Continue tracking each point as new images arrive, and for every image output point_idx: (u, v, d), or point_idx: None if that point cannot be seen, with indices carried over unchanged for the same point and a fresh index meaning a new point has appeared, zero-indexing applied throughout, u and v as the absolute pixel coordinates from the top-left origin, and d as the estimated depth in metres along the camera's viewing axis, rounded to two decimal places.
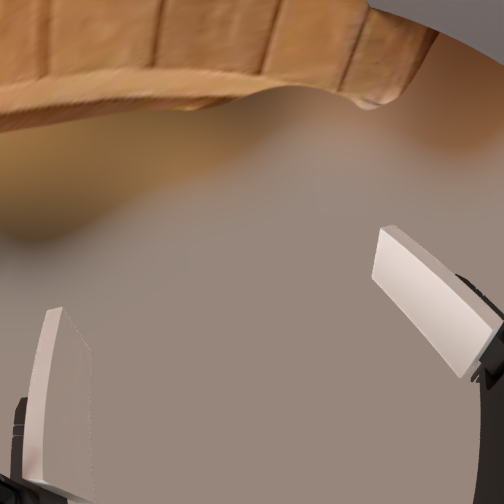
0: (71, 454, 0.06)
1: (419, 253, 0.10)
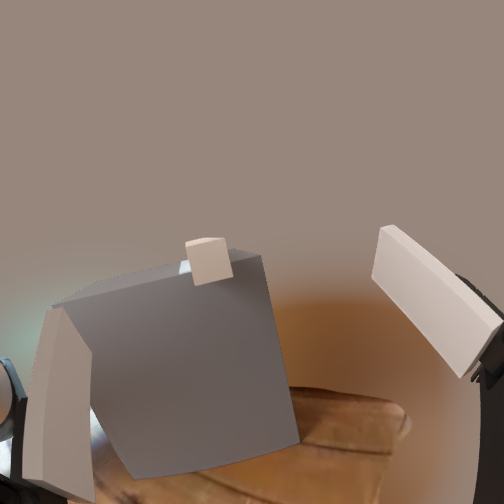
0: (71, 454, 0.06)
1: (419, 253, 0.10)
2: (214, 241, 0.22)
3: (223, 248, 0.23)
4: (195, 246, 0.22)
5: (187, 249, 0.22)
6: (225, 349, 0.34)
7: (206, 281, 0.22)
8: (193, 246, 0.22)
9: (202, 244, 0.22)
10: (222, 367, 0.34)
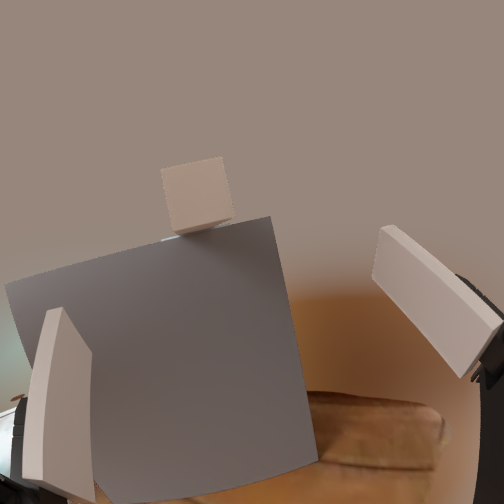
0: (71, 454, 0.06)
1: (419, 253, 0.10)
2: (205, 161, 0.14)
3: (219, 172, 0.14)
4: (175, 168, 0.14)
5: (163, 172, 0.13)
6: (223, 343, 0.25)
7: (191, 223, 0.14)
8: (172, 168, 0.13)
9: (186, 165, 0.14)
10: (219, 368, 0.25)
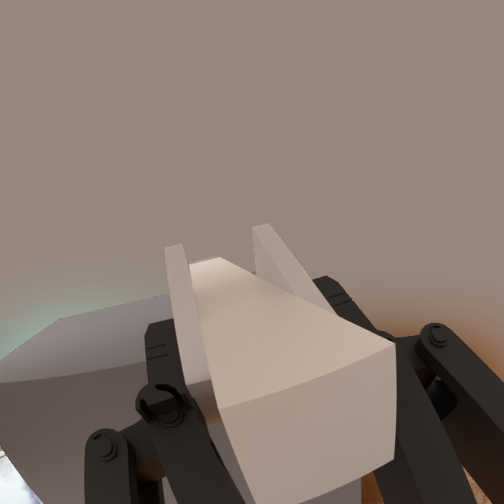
0: None
1: (278, 253, 0.11)
2: (355, 365, 0.04)
3: (385, 385, 0.04)
4: (268, 400, 0.04)
5: (228, 417, 0.04)
6: None
7: (304, 497, 0.04)
8: (259, 402, 0.04)
9: (302, 387, 0.04)
10: None
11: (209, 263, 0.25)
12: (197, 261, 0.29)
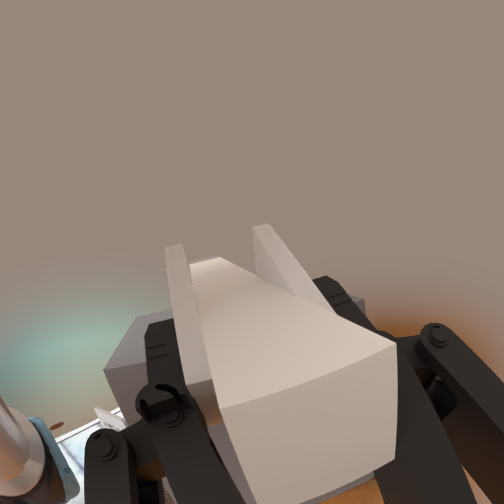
0: None
1: (278, 252, 0.11)
2: (356, 365, 0.04)
3: (386, 385, 0.04)
4: (269, 400, 0.04)
5: (229, 417, 0.04)
6: None
7: (305, 497, 0.04)
8: (260, 402, 0.04)
9: (304, 387, 0.04)
10: None
11: (209, 263, 0.25)
12: (197, 261, 0.29)
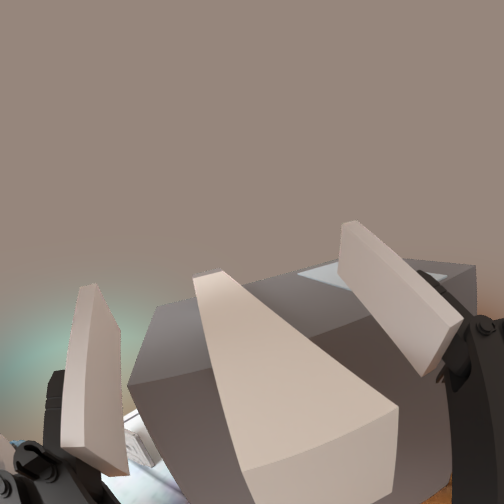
0: (107, 424, 0.07)
1: (378, 248, 0.11)
2: (362, 428, 0.04)
3: (387, 440, 0.04)
4: (285, 462, 0.04)
5: (250, 477, 0.04)
6: (425, 403, 0.19)
7: None
8: (277, 464, 0.04)
9: (315, 450, 0.04)
10: (416, 428, 0.19)
11: (213, 279, 0.25)
12: (200, 274, 0.30)
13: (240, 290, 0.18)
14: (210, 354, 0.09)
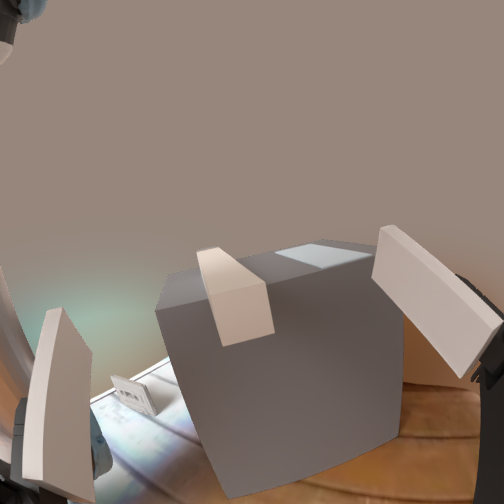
0: (71, 454, 0.06)
1: (419, 253, 0.10)
2: (251, 287, 0.16)
3: (263, 296, 0.16)
4: (224, 294, 0.16)
5: (212, 298, 0.16)
6: (359, 348, 0.31)
7: (238, 340, 0.16)
8: (221, 294, 0.16)
9: (234, 291, 0.16)
10: (353, 367, 0.31)
11: (210, 251, 0.37)
12: (202, 249, 0.41)
13: (226, 256, 0.30)
14: (204, 277, 0.21)
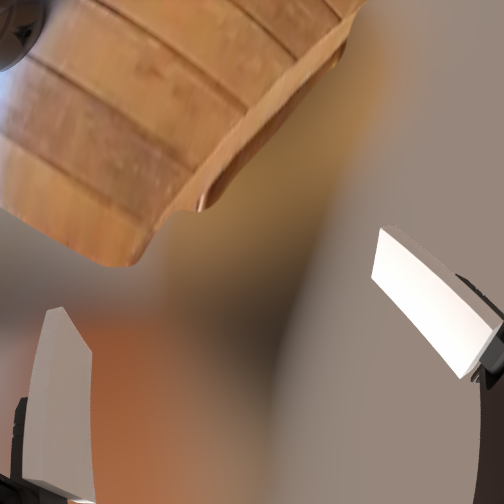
0: (71, 454, 0.06)
1: (419, 253, 0.10)
2: None
3: None
4: None
5: None
6: None
7: None
8: None
9: None
10: None
11: None
12: None
13: None
14: None
